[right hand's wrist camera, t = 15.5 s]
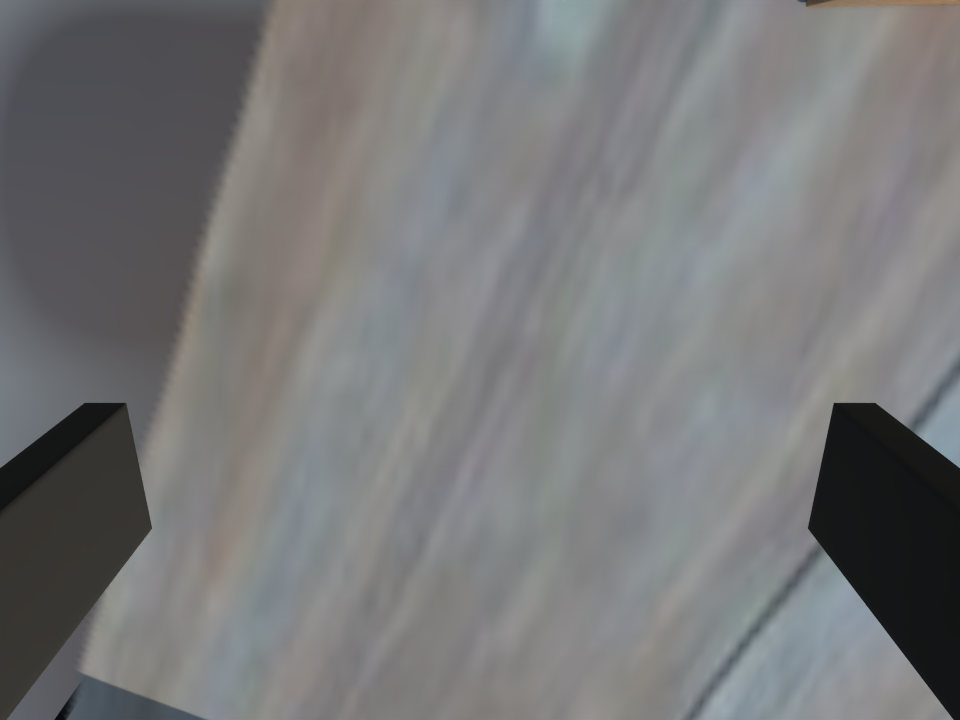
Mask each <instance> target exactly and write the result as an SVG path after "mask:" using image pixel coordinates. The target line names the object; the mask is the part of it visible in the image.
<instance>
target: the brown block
mask: <svg viewBox="0 0 960 720" xmlns="http://www.w3.org/2000/svg"><path fill="white" fill-rule="evenodd" d="M932 4H960V0H807V1H806V6H807V7H827V6H879V5H932Z"/></svg>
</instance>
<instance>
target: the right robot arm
mask: <svg viewBox="0 0 960 720" xmlns="http://www.w3.org/2000/svg"><path fill="white" fill-rule="evenodd" d="M151 529H152V526H151V521H150V516H149V511H148V506H147V502H146V497H145V492H144V487H143V482H142V478H141V473H140V468H139V463H138V458H137V453H136V449H135V444H134V439H133V434H132V429H131V424H130V420H129V415H128V410H127V405H126V403H84V404H83V405H82V406H80V407H79V408H78V409H76V410H75V411H74V412H72V413H71V414H70V415H69V416H67V417H66V418H65V419H63V420H62V421H61V422H60V423H58V424H57V425H56V426H54V427H53V428H52V429H50V430H49V431H48V432H47V433H45V434H44V435H43V436H42V437H40V438H39V439H38V440H36V441H35V442H34V443H32V444H31V445H30V446H28V447H27V448H26V449H25V450H23V451H22V452H21V453H19V454H18V455H17V456H16V457H14V458H13V459H12V460H10V461H9V462H8V463H7V464H5V465H4V466H3V467H1V468H0V720H6V719H7V718H8V717H9V716H10V714H11V713H12V712H13V710H14V709H15V708H16V706H17V705H18V704H19V702H20V701H21V700H22V698H23V697H24V696H25V694H26V693H27V692H28V691H29V689H30V688H31V687H32V685H33V684H34V683H35V681H36V680H37V679H38V677H39V676H40V675H41V674H42V672H43V671H44V670H45V668H46V667H47V666H48V664H49V663H50V662H51V660H52V659H53V658H54V656H55V655H56V654H57V652H58V651H59V650H60V648H61V647H62V646H63V645H64V643H65V642H66V641H67V639H68V638H69V637H70V635H71V634H72V633H73V631H74V630H75V629H76V628H77V626H78V625H79V624H80V622H81V621H82V620H83V618H84V617H85V616H86V614H87V613H88V612H89V610H90V609H91V608H92V607H93V605H94V604H95V603H96V601H97V600H98V599H99V597H100V596H101V595H102V593H103V592H104V591H105V589H106V588H107V587H108V586H109V584H110V583H111V582H112V580H113V579H114V578H115V576H116V575H117V574H118V572H119V571H120V570H121V568H122V567H123V566H124V565H125V563H126V562H127V561H128V559H129V558H130V557H131V555H132V554H133V553H134V551H135V550H136V549H137V547H138V546H139V545H140V544H141V542H142V541H143V540H144V538H145V537H146V536H147V534H148V533H149V532H150V530H151ZM808 529H809V530H810V532H811V533H812V534H813V536H814V537H815V538H816V540H817V541H818V542H819V544H820V545H821V546H822V547H823V549H824V550H825V551H826V553H827V554H828V555H829V557H830V558H831V559H832V561H833V562H834V563H835V565H836V566H837V567H838V568H839V570H840V571H841V572H842V574H843V575H844V576H845V578H846V579H847V580H848V582H849V583H850V584H851V586H852V587H853V588H854V589H855V591H856V592H857V593H858V595H859V596H860V597H861V599H862V600H863V601H864V603H865V604H866V605H867V607H868V608H869V609H870V610H871V612H872V613H873V614H874V616H875V617H876V618H877V620H878V621H879V622H880V624H881V625H882V626H883V628H884V629H885V630H886V631H887V633H888V634H889V635H890V637H891V638H892V639H893V641H894V642H895V643H896V645H897V646H898V647H899V649H900V650H901V651H902V652H903V654H904V655H905V656H906V658H907V659H908V660H909V662H910V663H911V664H912V666H913V667H914V668H915V670H916V671H917V672H918V674H919V675H920V676H921V677H922V679H923V680H924V681H925V683H926V684H927V685H928V687H929V688H930V689H931V691H932V692H933V693H934V695H935V696H936V697H937V698H938V700H939V701H940V702H941V704H942V705H943V706H944V708H945V709H946V710H947V712H948V713H949V714H950V716H951V717H952V718H953V719H954V720H960V468H959V467H957V466H956V465H955V464H954V463H952V462H951V461H950V460H948V459H947V458H946V457H944V456H943V455H942V454H941V453H939V452H938V451H937V450H935V449H934V448H933V447H932V446H930V445H929V444H928V443H926V442H925V441H924V440H922V439H921V438H920V437H919V436H917V435H916V434H915V433H913V432H912V431H911V430H910V429H908V428H907V427H906V426H904V425H903V424H902V423H900V422H899V421H898V420H897V419H895V418H894V417H893V416H891V415H890V414H889V413H888V412H886V411H885V410H884V409H882V408H881V407H880V406H878V405H877V404H876V403H834V405H833V410H832V415H831V420H830V424H829V429H828V434H827V439H826V444H825V449H824V453H823V458H822V463H821V468H820V473H819V478H818V482H817V487H816V492H815V497H814V502H813V506H812V511H811V516H810V521H809V526H808ZM77 687H78V686H77ZM76 693H77V688H76V689H75V691H74V692H73V694H72V695H71V696H70V698H69V699H68V701H67V702H66V703H65V705H64V706H63V708H62V709H61V711H60V712H59V714H58V715H57V716H56V718H55V719H54V720H67V718H68V717H69V715H70V714H71V710H72V709H73V703H74V701H75V696H76Z"/></svg>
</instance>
